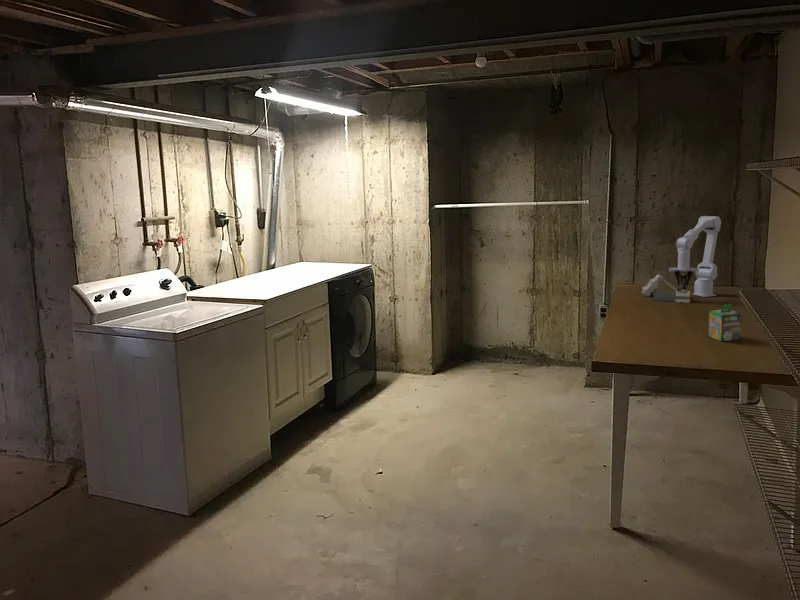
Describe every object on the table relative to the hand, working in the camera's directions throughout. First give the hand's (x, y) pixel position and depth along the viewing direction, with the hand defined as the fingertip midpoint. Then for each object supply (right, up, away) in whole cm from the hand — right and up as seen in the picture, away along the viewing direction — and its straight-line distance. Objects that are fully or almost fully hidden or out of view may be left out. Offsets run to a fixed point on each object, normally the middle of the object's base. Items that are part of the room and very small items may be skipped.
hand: (683, 285), depth 344 cm
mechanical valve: (-3, -6, +20) cm, 21 cm away
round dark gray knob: (+1, -2, 0) cm, 2 cm away
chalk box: (-16, -24, -76) cm, 81 cm away
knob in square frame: (-2, -8, +9) cm, 12 cm away
